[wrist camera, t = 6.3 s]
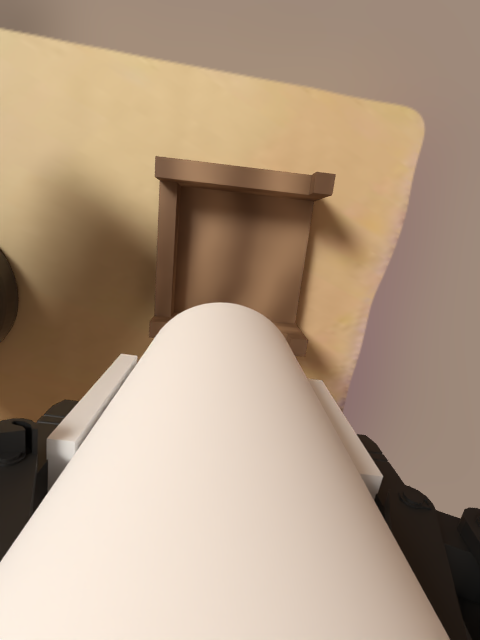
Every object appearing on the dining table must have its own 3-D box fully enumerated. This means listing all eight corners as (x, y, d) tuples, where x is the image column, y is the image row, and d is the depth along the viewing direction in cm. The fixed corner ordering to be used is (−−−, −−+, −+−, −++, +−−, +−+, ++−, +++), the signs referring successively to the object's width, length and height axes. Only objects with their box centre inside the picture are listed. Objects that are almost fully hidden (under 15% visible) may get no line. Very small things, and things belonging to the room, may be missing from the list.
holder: (160, 321, 35) (145, 342, 28) (167, 169, 31) (151, 151, 24) (290, 332, 36) (305, 356, 29) (312, 186, 32) (335, 174, 25)
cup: (296, 431, 19) (575, 1229, 4) (158, 445, 19) (-129, 1323, 4) (290, 295, 17) (861, 863, 2) (134, 309, 17) (-770, 1058, 2)
